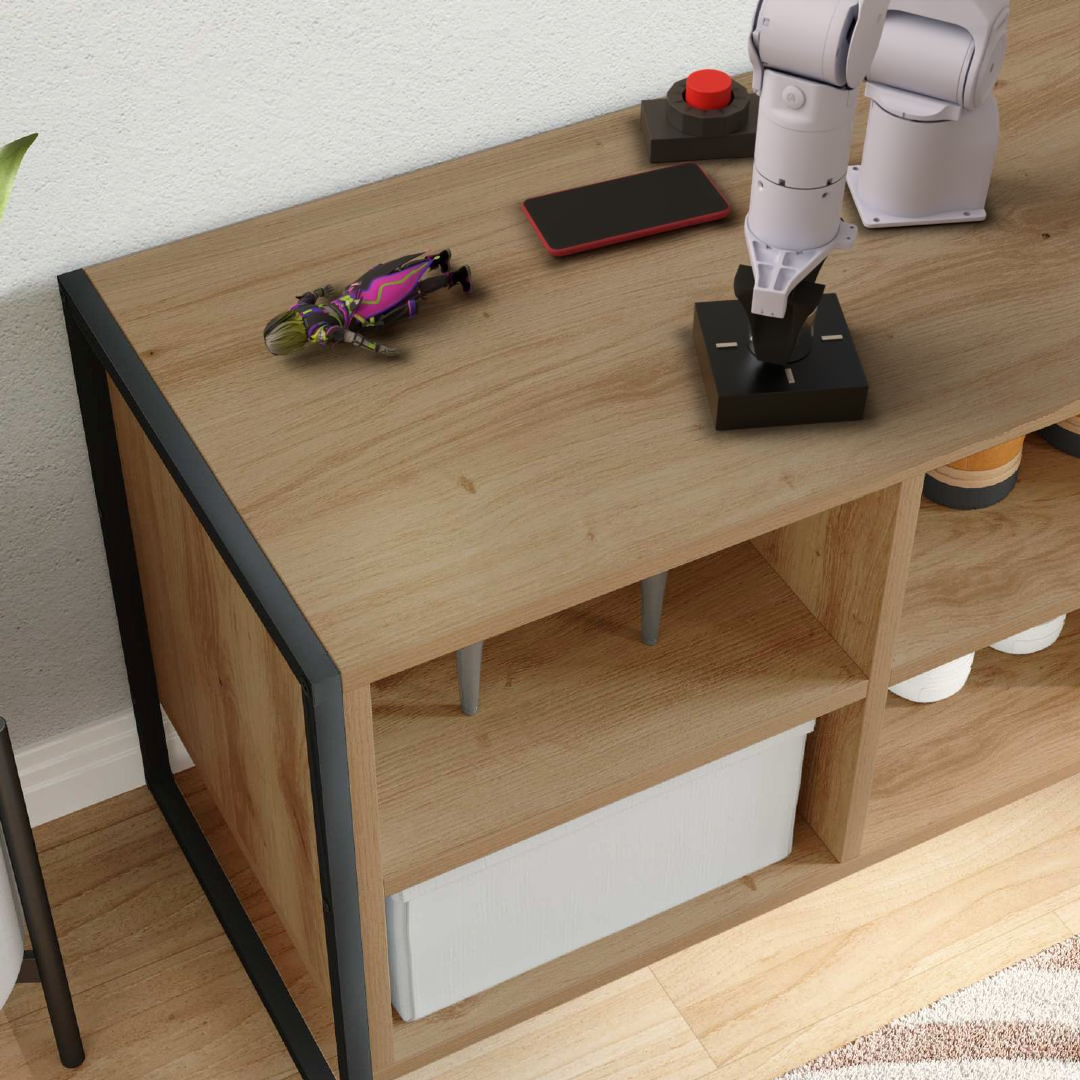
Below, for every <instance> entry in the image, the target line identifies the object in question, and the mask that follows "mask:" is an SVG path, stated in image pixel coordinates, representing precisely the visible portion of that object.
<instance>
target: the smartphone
mask: <svg viewBox="0 0 1080 1080" xmlns="http://www.w3.org/2000/svg"><path fill="white" fill-rule="evenodd" d="M521 210H522V212H523V214H524V215H525V217H526V219H527V220H528V221H529V223H530V225H531V227H532V228H533V230H534V232H535V234H536V235H537V236H538V238H539V240H540V241H541V243H542V245H543V246H544V248H545V250H546V251H547V253H548V254H549V255H551V256H553V257H557V258H558V257H559V258H560V257H563V256H568V255H573V254H576V253H581V252H585V251H590V250H594V249H597V248H602V247H606V246H610V245H614V244H618V243H622V242H626V241H627V242H628V241H631V240H636V239H640V238H644V237H649V236H653V235H657V234H660V233H665V232H669V231H673V230H677V229H682V228H686V227H690V226H695V225H700V224H705V223H709V222H713V221H717V220H721V219H723V218H726V217H727V216H728V215H729V214H730V212H731V210H732V209H731V205H730V203H729V202H728V200H727V199H726V198H725V196H724V195H723V194H722V193H721V191H720V190H719V189H718V188H717V186H716V185H715V184H714V183H713V181H712V180H711V179H710V177H709V175H708V174H707V173H706V172H705V171H704V169H703V168H702V167H701V165H700V164H698V163H696V162H693V161H686V162H682V163H677V164H673V165H668V166H664V167H659V168H656V169H650V170H647V171H643V172H638V173H633V174H629V175H624V176H621V177H616V178H611V179H606V180H603V181H599V182H593V183H589V184H586V185H581V186H576V187H572V188H568V189H564V190H559V191H554V192H550V193H546V194H540V195H537V196H533V197H528V198H526V199H525V200H524V201H523V202H522V203H521Z"/></svg>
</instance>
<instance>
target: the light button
mask: <svg viewBox="0 0 1080 1080" xmlns="http://www.w3.org/2000/svg"><path fill="white" fill-rule="evenodd" d="M687 77H688V78H687ZM687 77H686V78H687V83H686V102H687V104H689V105H690V106H692V107H694V108H699V109H703V110H712V109H721V108H723V107H726V106H728V105H729V103H730V100H731V87H732V80H731V79H732V78H731V76H730V74H728V73H726V72H724V71H722V70H719V69H714V68H703V69H698V70H696V71H693V72H691V73H690V74H689V75H688V76H687Z"/></svg>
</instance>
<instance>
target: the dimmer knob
mask: <svg viewBox="0 0 1080 1080" xmlns="http://www.w3.org/2000/svg"><path fill="white" fill-rule="evenodd" d="M817 307H818V306H817ZM816 314H817V308H816V309H815V310H814V311H813V312H812V313H811V314H810V315H809V316H808V318H807V319H806V320H805V322H804V323H803V325H802V327H801V329H800V332H799V335H798V337H797V341H796V344H795V347H794V350H793V352H792V355H791V357H790V359H789V361H788V362H794V361H797V360H799V359H801V358H803V357H805V356H806V355H807V354H808V353H809V352H810V350H811V348H812V342H813V335H814V328H815V321H816ZM747 344H748V347H749V349H750V350H751V351H752V352H753V353H754V354H755V352H754V347H753V341H752V335H751V329H750V324H749V322H748V332H747Z"/></svg>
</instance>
